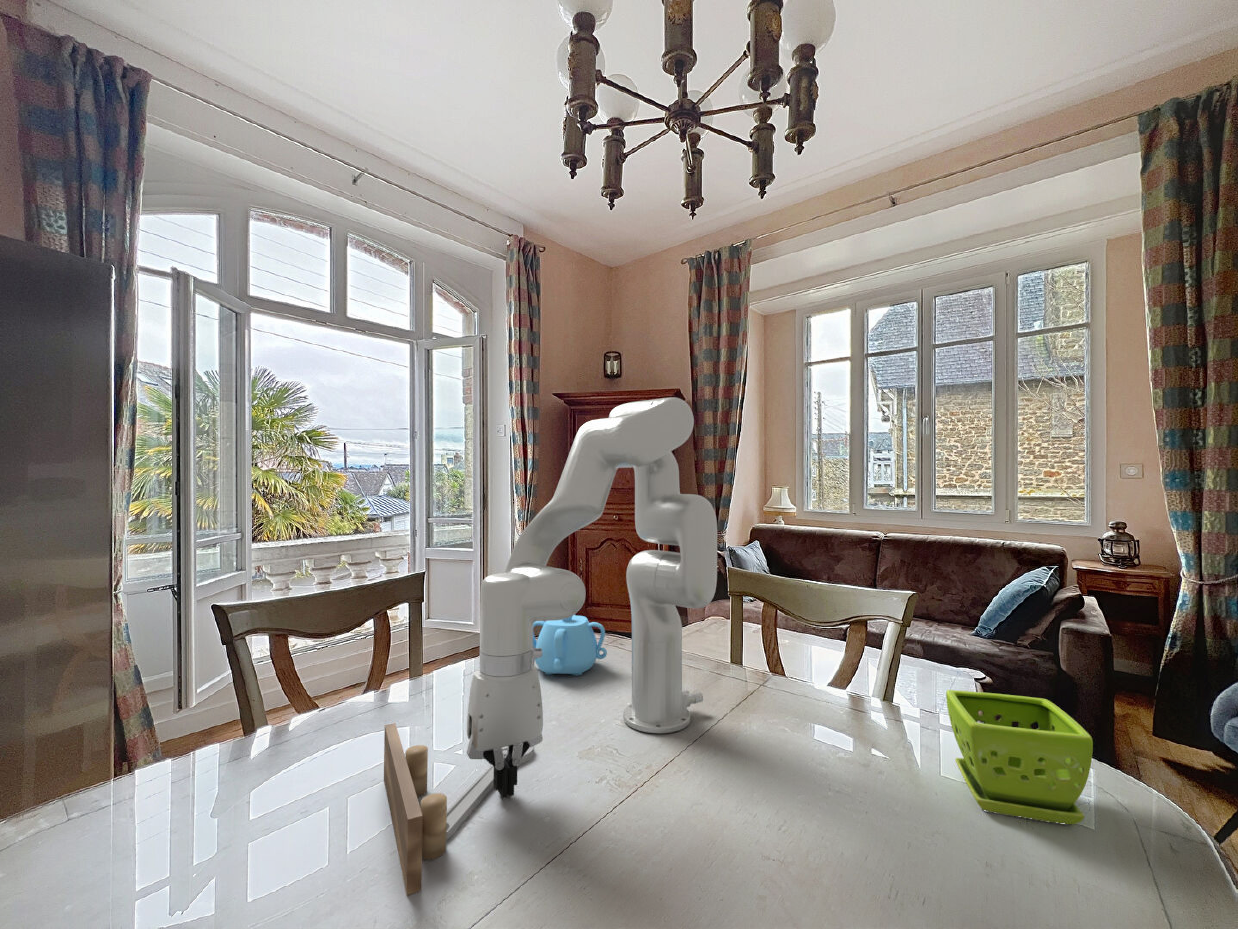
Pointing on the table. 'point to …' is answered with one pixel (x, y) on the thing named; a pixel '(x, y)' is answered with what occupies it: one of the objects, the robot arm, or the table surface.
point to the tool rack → (412, 808)
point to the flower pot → (1021, 755)
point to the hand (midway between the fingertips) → (505, 792)
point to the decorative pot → (568, 645)
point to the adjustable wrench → (475, 795)
